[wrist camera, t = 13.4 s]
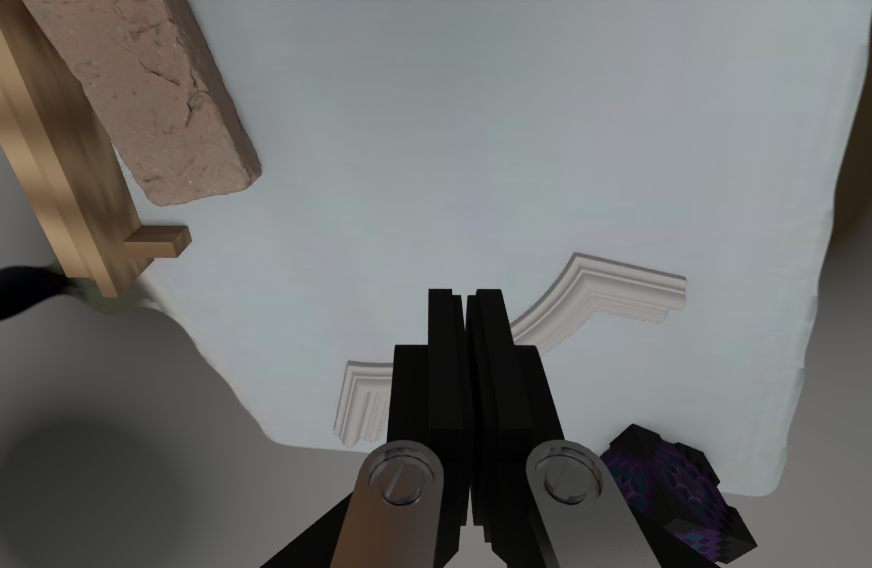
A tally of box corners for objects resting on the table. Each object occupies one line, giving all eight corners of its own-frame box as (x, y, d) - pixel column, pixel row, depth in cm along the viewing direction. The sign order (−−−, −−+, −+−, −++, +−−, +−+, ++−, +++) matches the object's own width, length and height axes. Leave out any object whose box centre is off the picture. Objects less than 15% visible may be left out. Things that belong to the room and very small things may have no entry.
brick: (269, 173, 39) (251, 194, 35) (177, 194, 40) (150, 217, 36) (164, -67, 30) (125, -75, 26) (50, -33, 31) (-5, -36, 27)
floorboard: (-100, -150, 28) (-217, -178, 22) (72, -146, 28) (-6, -173, 23) (88, 259, 43) (43, 297, 38) (197, 260, 43) (167, 297, 38)
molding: (354, 442, 59) (351, 462, 57) (291, 385, 53) (285, 404, 51) (691, 301, 48) (705, 318, 45) (659, 208, 42) (673, 222, 39)
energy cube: (702, 451, 60) (758, 546, 50) (639, 499, 66) (677, 593, 56) (632, 423, 57) (676, 518, 47) (571, 476, 63) (599, 570, 53)
